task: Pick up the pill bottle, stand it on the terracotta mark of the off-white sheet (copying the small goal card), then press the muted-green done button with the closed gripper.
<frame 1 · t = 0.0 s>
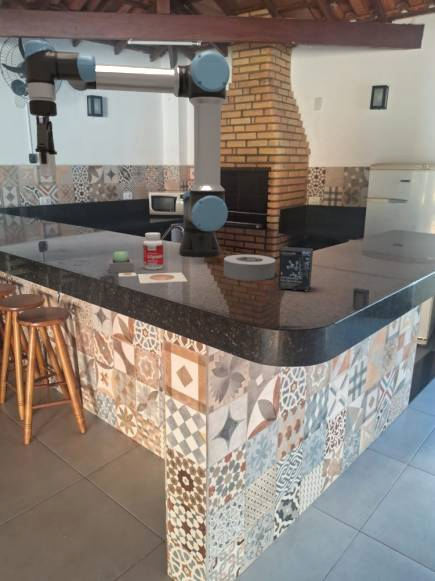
hand: (48, 176, 134), 28 cm above the countertop, fingers open, 13 cm apart
button cap: (121, 258, 135), point 4 cm above the countertop, slide at 0.0 cm
goal card: (127, 275, 130), on the countertop
sheet: (161, 278, 126), on the countertop
box: (294, 289, 116), on the countertop
pill bottle: (153, 268, 140), on the countertop
tape roll: (249, 276, 132), on the countertop
button base: (121, 270, 136), on the countertop
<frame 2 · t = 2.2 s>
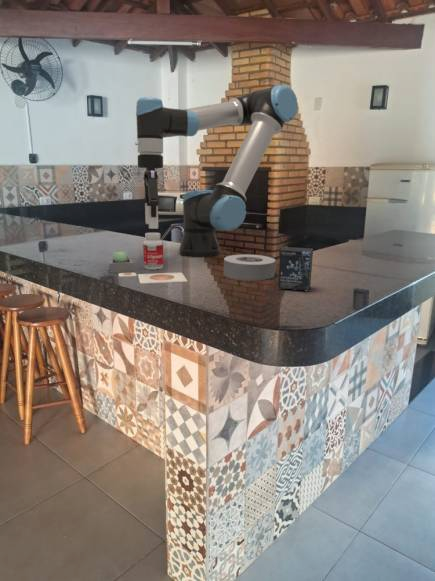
hand: (151, 226, 136), 13 cm above the countertop, fingers open, 13 cm apart
nothing on the countertop moved.
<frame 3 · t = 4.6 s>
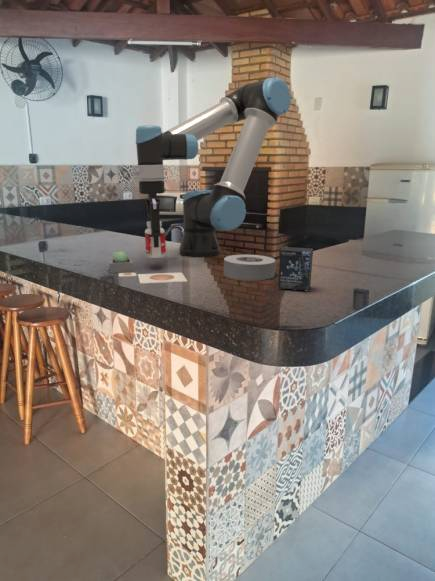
hand: (155, 255, 139), 4 cm above the countertop, fingers closed on pill bottle, 6 cm apart
pill bottle: (156, 257, 140), point 3 cm above the countertop, touching gripper
everything else where it was.
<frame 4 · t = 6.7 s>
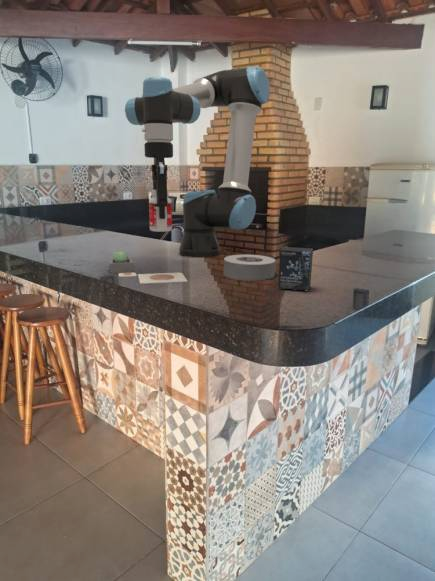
hand: (160, 229, 122), 14 cm above the countertop, fingers closed on pill bottle, 6 cm apart
pill bottle: (161, 231, 123), point 13 cm above the countertop, touching gripper
everything else where it was.
when the fingers open (2 cm above the countertop, at t = 9.1 s): pill bottle drops 1 cm, resting on sheet.
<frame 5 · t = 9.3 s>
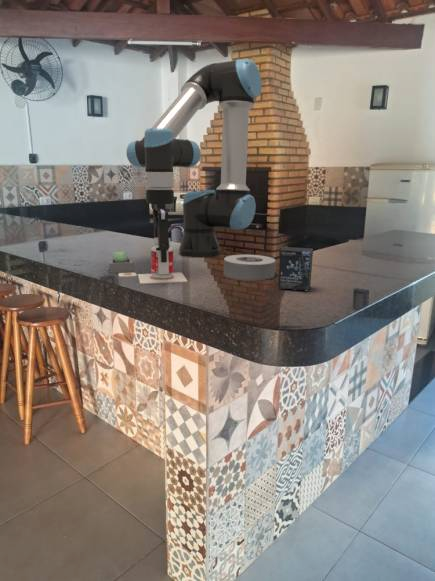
hand: (161, 269, 125), 3 cm above the countertop, fingers open, 9 cm apart
pill bottle: (162, 277, 126), resting on sheet
everything else where it was.
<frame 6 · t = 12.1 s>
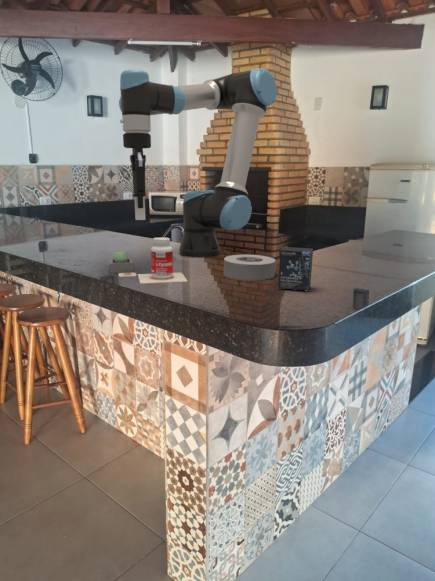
hand: (140, 219, 127), 16 cm above the countertop, fingers closed
nothing on the countertop moved.
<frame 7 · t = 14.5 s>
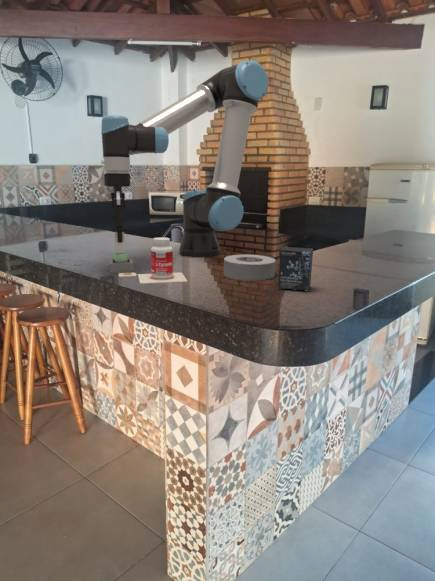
hand: (120, 252, 134), 6 cm above the countertop, fingers closed
button cap: (121, 260, 135), point 3 cm above the countertop, slide at 0.4 cm, touching gripper
everything else where it was.
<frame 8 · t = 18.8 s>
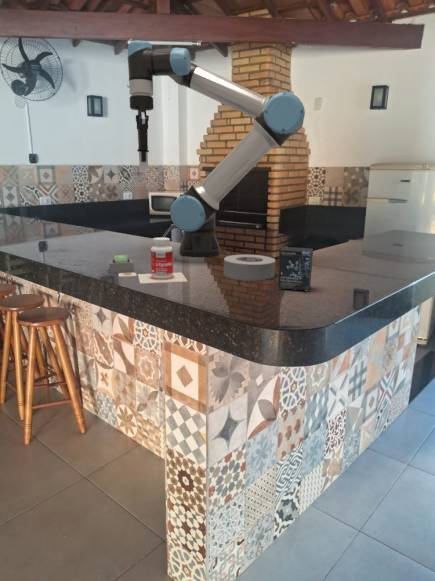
hand: (143, 172, 147), 29 cm above the countertop, fingers closed
button cap: (121, 262, 135), point 3 cm above the countertop, slide at 1.1 cm
everything else where it was.
at the end: pill bottle inside the target area on the sheet (0.1 cm from its centre), point 0.2 cm above the sheet's base; pill bottle tilted 0°; button cap slide at 1.1 cm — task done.
